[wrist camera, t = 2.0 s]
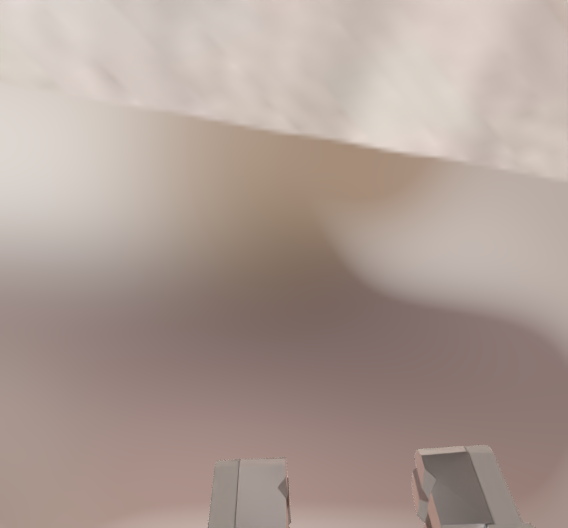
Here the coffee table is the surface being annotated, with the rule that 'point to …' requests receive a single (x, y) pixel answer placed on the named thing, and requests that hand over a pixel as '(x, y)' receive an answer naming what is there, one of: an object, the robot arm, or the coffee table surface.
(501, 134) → the coffee table surface
